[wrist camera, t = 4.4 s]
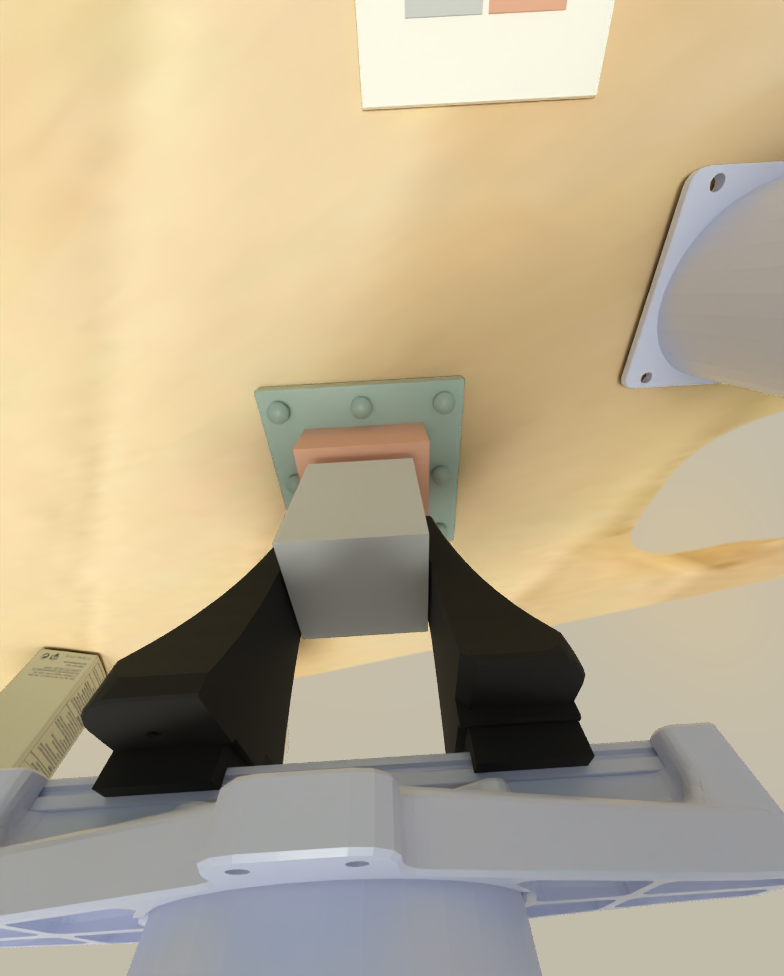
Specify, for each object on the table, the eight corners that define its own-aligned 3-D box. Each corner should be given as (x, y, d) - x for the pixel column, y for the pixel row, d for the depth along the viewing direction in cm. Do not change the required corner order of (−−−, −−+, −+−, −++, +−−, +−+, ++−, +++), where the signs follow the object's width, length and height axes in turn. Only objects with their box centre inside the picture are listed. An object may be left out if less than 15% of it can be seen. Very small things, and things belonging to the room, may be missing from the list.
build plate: (460, 375, 15) (467, 381, 14) (450, 532, 21) (455, 545, 19) (259, 387, 15) (249, 394, 14) (300, 541, 21) (295, 555, 19)
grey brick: (412, 457, 13) (429, 533, 9) (413, 539, 15) (427, 631, 11) (307, 464, 13) (271, 543, 9) (324, 544, 15) (303, 639, 11)
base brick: (422, 422, 16) (429, 441, 14) (422, 517, 19) (427, 545, 17) (304, 429, 16) (292, 449, 14) (323, 523, 19) (316, 552, 17)
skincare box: (41, 645, 25) (-197, 889, 15) (101, 652, 26) (-85, 889, 16) (59, 685, 28) (-126, 911, 18) (113, 691, 29) (-36, 909, 19)
